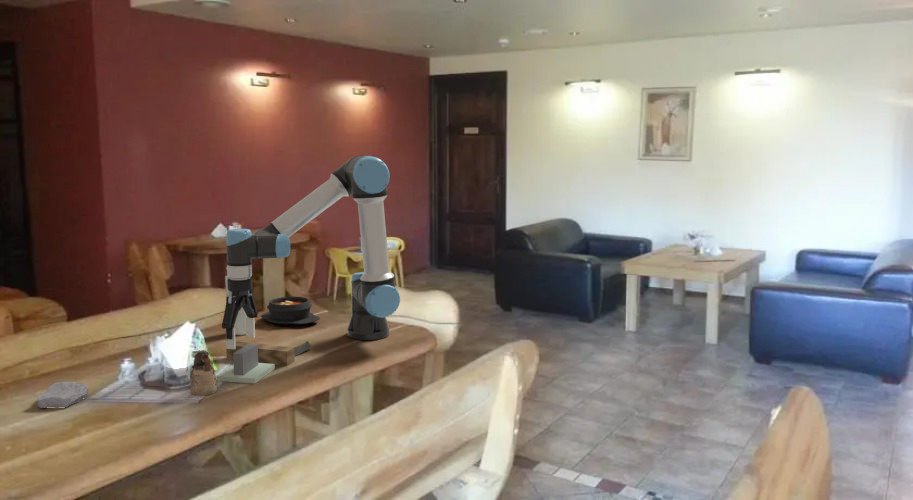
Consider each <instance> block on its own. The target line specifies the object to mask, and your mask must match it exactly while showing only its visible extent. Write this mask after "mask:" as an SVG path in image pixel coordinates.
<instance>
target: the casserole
mask: <svg viewBox="0 0 913 500" xmlns="http://www.w3.org/2000/svg"><path fill="white" fill-rule="evenodd" d="M312 306H313V304H312V303H311V300H310V299H309V298H307V297H303V296H281V297H276V298H273V299H271V300H270V301H269V303H268V305H267V306H266V307H267V310H268V311H267V312H264V313H261V314H260V317H261V318H262V319H265V321H267V322H270V323H273V324H277V325H281V326H295V325H307V324H311V323H314V322H317V321H319V320H320V319H321V317H320V316H317V315H315V314H314V313H312V312H311V308H312Z"/></svg>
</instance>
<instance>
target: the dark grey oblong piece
mask: <svg viewBox="0 0 913 500" xmlns="http://www.w3.org/2000/svg"><path fill="white" fill-rule="evenodd" d="M311 345H312V344H311V343H310V342H309V341H305V342H304V343H303V344H300V345H297V346H292V347H293V348H294V358H295V357H296V356H299V355H301V354H302V353H304V352H308V351H310V350H311V347H312V346H311Z"/></svg>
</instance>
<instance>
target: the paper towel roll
mask: <svg viewBox="0 0 913 500" xmlns="http://www.w3.org/2000/svg"><path fill="white" fill-rule="evenodd" d="M228 279H229V277H227V275H225V276H224V281H225V298H226V297H231V296H232V292H231V291H229V290H228V288H227V280H228ZM246 318H249V317H247V315H246V313H245V311H244V309H243V307H242V308H241V310H239V312H238V315H237V318H236V322H235V325H234V328H235V336H246Z"/></svg>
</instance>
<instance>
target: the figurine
mask: <svg viewBox="0 0 913 500" xmlns="http://www.w3.org/2000/svg"><path fill="white" fill-rule="evenodd" d="M209 354H210V352H208V351H207V350H206V349H205V350H204V349H202V350H199V351H198V352H197V353H195V355H194V356H193V359H194V361H193V364H192V366H191V369H192V370H191V373H190V386H189V387H190V388H189V389H190V390H189V391H190V394H191V395H193V396H209V395H213V394H215V393H216V392H217V391H218V381H217V377H216V376H217V375H216V373H215V369H214V366H213V365H212V363H211V358H210V356H209Z"/></svg>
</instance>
